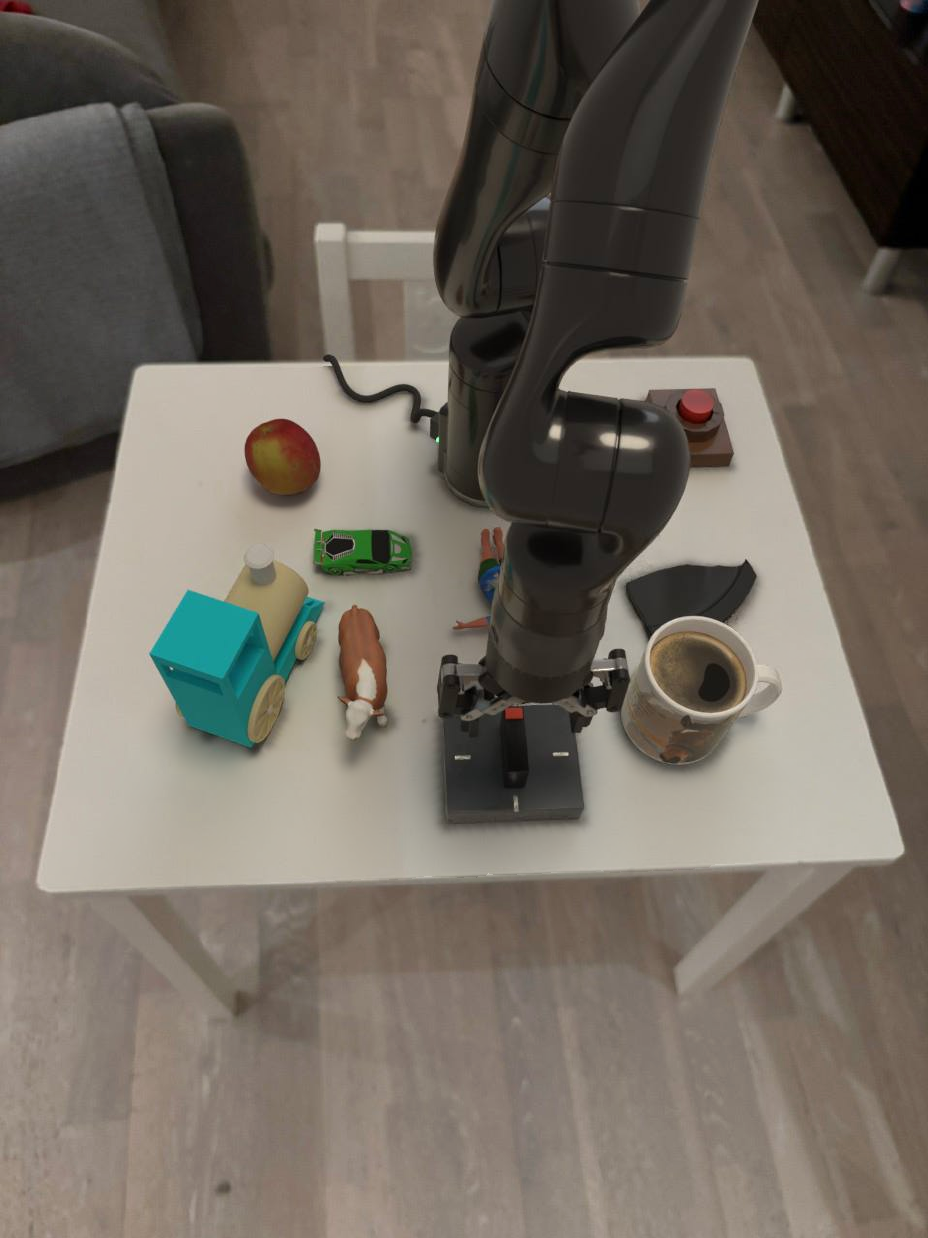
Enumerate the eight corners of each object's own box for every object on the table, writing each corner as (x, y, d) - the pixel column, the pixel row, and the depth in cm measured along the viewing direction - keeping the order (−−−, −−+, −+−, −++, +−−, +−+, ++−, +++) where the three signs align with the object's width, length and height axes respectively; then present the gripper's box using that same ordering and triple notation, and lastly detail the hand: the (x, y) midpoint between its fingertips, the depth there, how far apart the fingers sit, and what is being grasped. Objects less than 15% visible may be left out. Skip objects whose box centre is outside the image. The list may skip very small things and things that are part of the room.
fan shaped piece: (774, 618, 93) (779, 610, 91) (654, 652, 90) (657, 644, 89) (737, 553, 97) (742, 545, 95) (621, 584, 94) (624, 576, 93)
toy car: (410, 536, 96) (410, 523, 94) (412, 573, 94) (412, 561, 92) (316, 539, 95) (313, 526, 94) (315, 576, 93) (313, 564, 91)
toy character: (551, 509, 93) (592, 633, 86) (546, 536, 97) (585, 657, 90) (432, 527, 91) (464, 655, 84) (431, 554, 95) (462, 679, 88)
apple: (311, 446, 102) (303, 395, 95) (331, 500, 98) (324, 451, 91) (244, 462, 100) (231, 412, 93) (262, 518, 97) (250, 470, 90)
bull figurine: (343, 764, 83) (336, 729, 76) (341, 637, 90) (335, 593, 83) (391, 761, 83) (388, 726, 76) (386, 634, 90) (382, 591, 83)
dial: (524, 787, 79) (529, 770, 76) (504, 788, 79) (508, 771, 76) (519, 725, 82) (523, 705, 79) (499, 725, 82) (503, 705, 79)
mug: (655, 649, 90) (682, 590, 81) (763, 714, 87) (805, 661, 78) (601, 727, 86) (624, 675, 76) (713, 799, 83) (752, 753, 73)
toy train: (332, 609, 91) (318, 520, 78) (261, 754, 83) (231, 682, 70) (261, 586, 92) (235, 494, 79) (183, 727, 84) (140, 650, 71)
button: (712, 423, 101) (717, 412, 100) (681, 424, 101) (685, 413, 100) (706, 399, 103) (710, 388, 102) (675, 400, 103) (679, 389, 101)
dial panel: (446, 825, 80) (447, 813, 78) (441, 719, 86) (442, 705, 83) (579, 820, 81) (585, 808, 78) (567, 716, 86) (572, 701, 84)
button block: (728, 466, 103) (739, 442, 99) (659, 468, 102) (668, 444, 99) (710, 401, 108) (720, 376, 104) (644, 402, 107) (652, 377, 104)
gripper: (641, 575, 63) (601, 681, 77) (437, 581, 62) (434, 687, 76) (659, 671, 59) (614, 764, 73) (442, 679, 58) (438, 771, 72)
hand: (522, 724), depth 74 cm, fingers open, 8 cm apart
